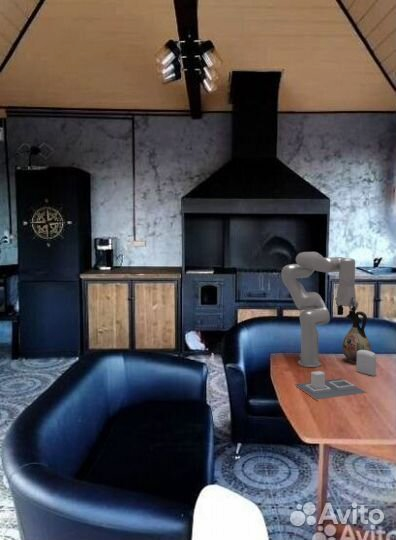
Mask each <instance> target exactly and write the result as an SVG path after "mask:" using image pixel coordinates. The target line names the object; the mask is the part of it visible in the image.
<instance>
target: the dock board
mask: <svg viewBox="0 0 396 540" xmlns="http://www.w3.org/2000/svg"><path fill="white" fill-rule="evenodd" d="M295 386H296V388H297V389H298V388H299V390H300V391H301V390H302V391H301V392H303V393H304V392H305V393H304V394H306V395H307V396H308V395H309V397H310V398H311V397H312V399H313V400H314V401H316V402H319V400H325V399H332V398H338V397H343V396H345V397H346V396H352V395H359V394H360V395H361V394H366V393H367V391H365V390H363V389H362V388H359V387H358V386H356V385H355V384H353V383H351V382H349V381H347V380H346V379H342V378H332V379H327V380H326V379H325V389H317V390H314V389H313V388H311V381H310V382H309V381H308V382H302V383H301V382H300V383H295V384H294V387H295Z"/></svg>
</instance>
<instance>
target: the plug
mask: <svg viewBox="0 0 396 540" xmlns="http://www.w3.org/2000/svg"><path fill="white" fill-rule="evenodd" d="M325 380H326V372H325V371H320V370H317V371H311V373H310V382H311V388H313V389H314V390H317V389H325Z"/></svg>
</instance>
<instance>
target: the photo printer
mask: <svg viewBox="0 0 396 540" xmlns="http://www.w3.org/2000/svg"><path fill="white" fill-rule="evenodd" d="M355 365H356V367H355V368H356V373H359V374H364V375H368V376H373V377H374V376H376V375H377V354H376V353H375V352H373V351H368V350H359V351H357V361H356V363H355Z"/></svg>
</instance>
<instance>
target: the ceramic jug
mask: <svg viewBox="0 0 396 540" xmlns="http://www.w3.org/2000/svg"><path fill="white" fill-rule="evenodd" d="M359 316H361V317H362V319H363V320H361V318H360V317H359ZM345 318H346V319H348V320H349V321H351V322H352V326H351V327H350V329H349V330H348V332H347V334H346V335H345V337H344V339H343V341H342V346H341V347H342V348H341V349H342V353H343V355H344V356H345V358H346V359H347V362H348V363H352V364H356V361H357V351H359V350H368V351H371V350H372V349H371V344H370V340H369V338H368V336H367V334H366V332H365V328H366V325H367V321H368V316H367V314H366V313H365V312H363V311H357V312H356V311H355V319H349V313H348V314H347V315H346V316H345ZM360 323H362V324H361V325H360ZM371 352H372V351H371Z"/></svg>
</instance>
